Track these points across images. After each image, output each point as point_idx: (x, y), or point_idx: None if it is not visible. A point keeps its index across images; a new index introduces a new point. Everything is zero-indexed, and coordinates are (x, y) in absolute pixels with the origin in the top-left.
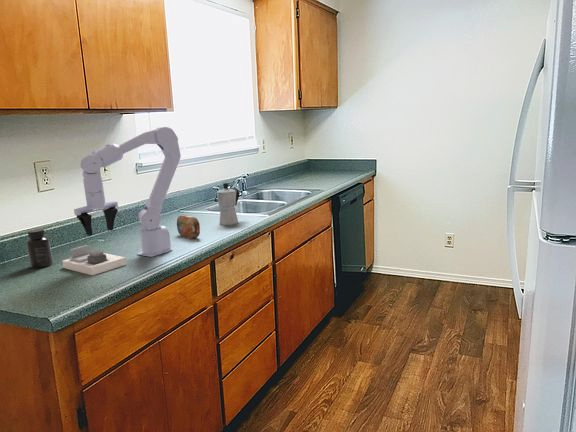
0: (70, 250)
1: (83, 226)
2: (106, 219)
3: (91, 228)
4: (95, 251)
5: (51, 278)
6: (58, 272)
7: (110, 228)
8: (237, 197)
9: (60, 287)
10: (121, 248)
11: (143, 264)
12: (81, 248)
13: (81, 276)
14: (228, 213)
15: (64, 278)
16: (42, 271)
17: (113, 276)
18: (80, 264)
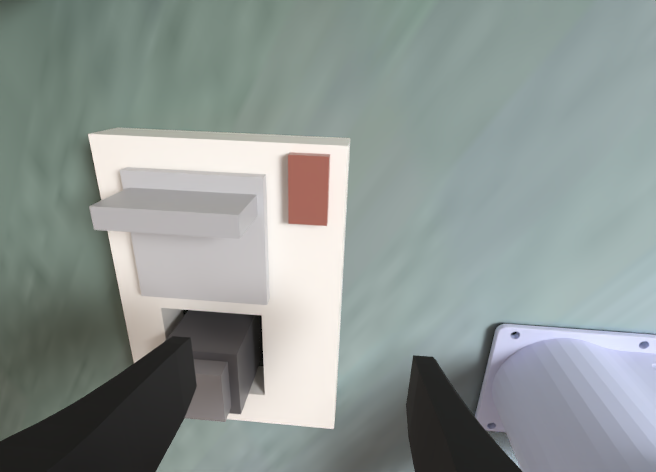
0: (95, 205)
1: (93, 394)
2: (443, 453)
3: (159, 457)
4: (201, 379)
5: (17, 250)
6: (70, 188)
7: (410, 412)
8: None
9: (19, 386)
10: (627, 69)
11: (371, 457)
12: (177, 231)
13: (125, 352)
14: None
15: (63, 307)
16: (5, 64)
17: (207, 459)
18: (133, 319)
